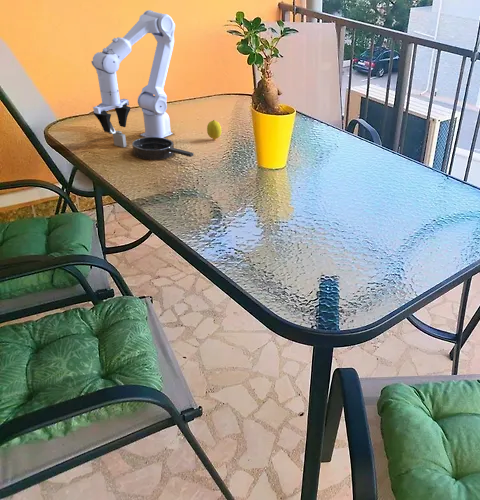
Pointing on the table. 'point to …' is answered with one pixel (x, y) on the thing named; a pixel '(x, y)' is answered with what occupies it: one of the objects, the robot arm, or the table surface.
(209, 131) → the lemon
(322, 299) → the table surface
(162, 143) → the pan
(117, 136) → the lighter
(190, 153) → the pan handle
